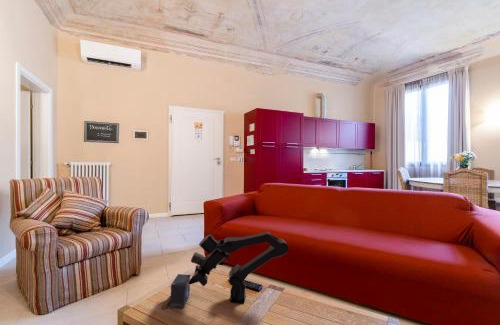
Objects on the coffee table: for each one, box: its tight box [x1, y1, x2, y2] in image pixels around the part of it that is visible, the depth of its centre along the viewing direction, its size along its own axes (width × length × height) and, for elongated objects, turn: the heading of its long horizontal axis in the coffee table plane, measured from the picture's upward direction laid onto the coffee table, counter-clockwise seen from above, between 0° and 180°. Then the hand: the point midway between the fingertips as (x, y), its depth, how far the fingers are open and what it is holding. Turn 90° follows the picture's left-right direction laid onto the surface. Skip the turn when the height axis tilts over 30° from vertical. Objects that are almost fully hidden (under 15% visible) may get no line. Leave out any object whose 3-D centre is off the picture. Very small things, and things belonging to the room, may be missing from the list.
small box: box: [169, 273, 191, 309], centre depth 116 cm, size 11×6×10 cm, turn 179°
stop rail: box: [161, 294, 171, 310], centre depth 117 cm, size 2×14×2 cm, turn 171°
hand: (189, 283), depth 117 cm, fingers closed
